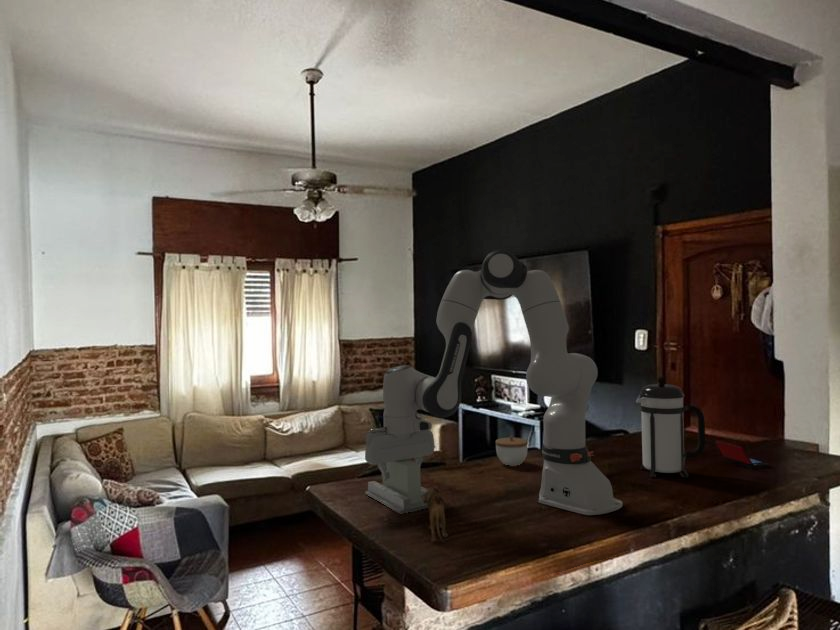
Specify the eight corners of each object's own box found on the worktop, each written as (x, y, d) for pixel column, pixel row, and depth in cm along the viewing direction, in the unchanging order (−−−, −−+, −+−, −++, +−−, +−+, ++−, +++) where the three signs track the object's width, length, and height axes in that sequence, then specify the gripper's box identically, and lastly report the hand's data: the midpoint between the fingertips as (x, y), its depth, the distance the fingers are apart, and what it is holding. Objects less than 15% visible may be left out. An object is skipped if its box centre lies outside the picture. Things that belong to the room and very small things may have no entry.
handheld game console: (772, 468, 185) (771, 444, 185) (742, 470, 182) (742, 447, 182) (742, 458, 197) (741, 436, 197) (714, 461, 195) (714, 439, 195)
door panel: (421, 501, 155) (420, 464, 155) (407, 504, 152) (407, 466, 152) (395, 489, 166) (394, 454, 166) (382, 491, 164) (381, 456, 164)
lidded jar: (509, 469, 188) (509, 440, 189) (489, 462, 198) (488, 435, 198) (534, 464, 194) (534, 436, 194) (514, 458, 203) (513, 431, 203)
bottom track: (439, 505, 154) (439, 492, 154) (400, 514, 148) (400, 500, 148) (401, 487, 171) (401, 475, 171) (365, 495, 165) (364, 482, 165)
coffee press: (676, 483, 169) (673, 380, 169) (628, 472, 182) (625, 376, 182) (707, 473, 179) (704, 376, 180) (659, 463, 192) (657, 372, 192)
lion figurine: (420, 522, 142) (419, 485, 142) (441, 520, 143) (440, 484, 143) (433, 545, 127) (432, 504, 127) (456, 543, 128) (455, 502, 128)
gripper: (371, 431, 151) (372, 485, 151) (436, 422, 162) (437, 472, 162) (360, 428, 156) (361, 479, 156) (424, 419, 167) (425, 467, 167)
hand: (400, 475), depth 159 cm, fingers open, 8 cm apart
